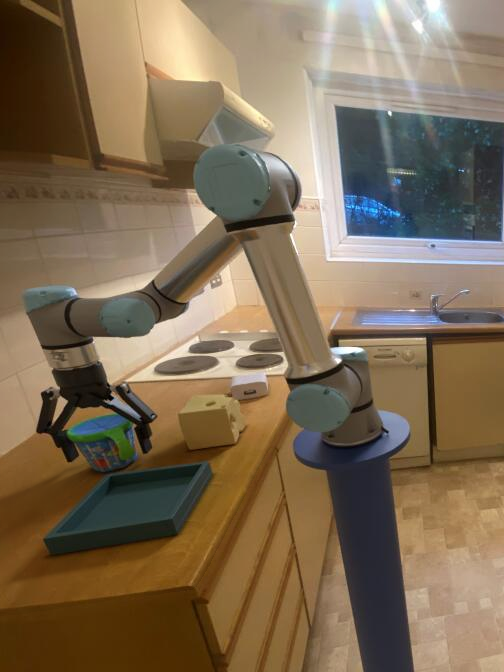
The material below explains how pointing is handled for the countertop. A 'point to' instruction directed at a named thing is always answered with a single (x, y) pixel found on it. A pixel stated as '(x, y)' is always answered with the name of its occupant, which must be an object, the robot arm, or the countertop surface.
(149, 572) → the countertop surface
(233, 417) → the cheese
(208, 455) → the countertop surface
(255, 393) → the charger
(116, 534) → the tray
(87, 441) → the snack cup
